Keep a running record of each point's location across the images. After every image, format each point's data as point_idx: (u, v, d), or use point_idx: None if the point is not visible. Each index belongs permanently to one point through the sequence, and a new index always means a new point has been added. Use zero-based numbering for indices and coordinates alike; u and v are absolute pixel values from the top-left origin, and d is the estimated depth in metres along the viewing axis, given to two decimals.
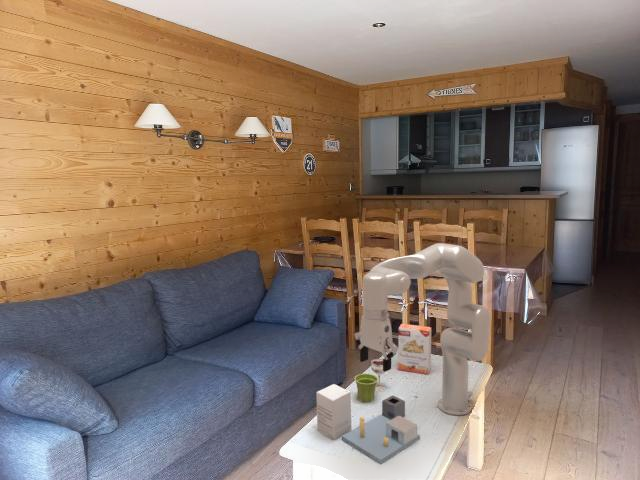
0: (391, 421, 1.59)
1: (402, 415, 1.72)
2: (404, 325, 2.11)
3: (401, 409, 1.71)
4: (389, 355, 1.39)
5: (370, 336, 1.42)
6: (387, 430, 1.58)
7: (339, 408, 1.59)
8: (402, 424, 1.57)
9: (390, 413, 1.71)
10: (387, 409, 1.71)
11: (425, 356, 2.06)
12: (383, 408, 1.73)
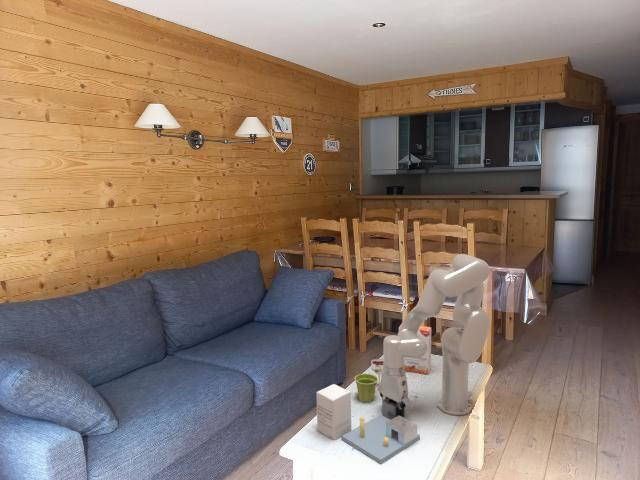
0: (391, 421, 1.59)
1: None
2: None
3: None
4: (402, 406, 1.68)
5: (389, 388, 1.70)
6: (387, 430, 1.58)
7: (339, 408, 1.59)
8: (402, 424, 1.57)
9: (390, 413, 1.71)
10: (387, 409, 1.71)
11: (425, 356, 2.06)
12: (383, 408, 1.73)
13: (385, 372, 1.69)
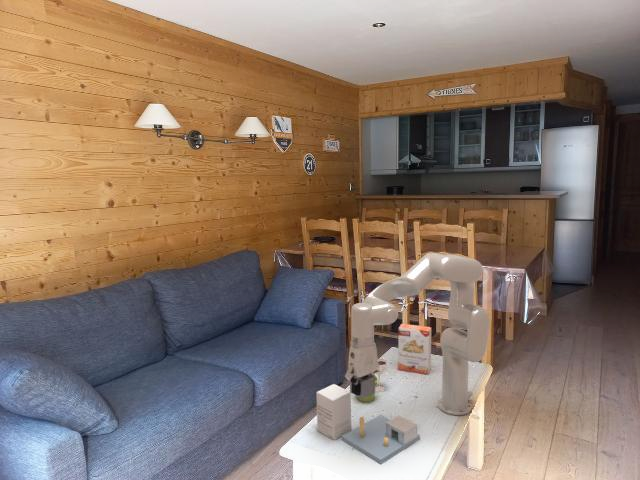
0: (391, 421, 1.59)
1: None
2: (404, 325, 2.11)
3: None
4: None
5: None
6: (387, 430, 1.58)
7: (339, 408, 1.59)
8: (402, 424, 1.57)
9: None
10: None
11: (425, 356, 2.06)
12: None
13: None
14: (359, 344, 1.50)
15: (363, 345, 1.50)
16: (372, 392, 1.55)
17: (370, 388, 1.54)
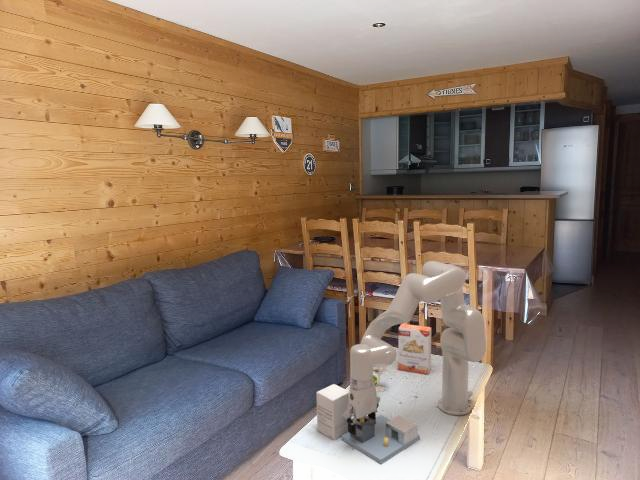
0: (391, 421, 1.59)
1: (359, 439, 1.55)
2: (404, 325, 2.11)
3: (358, 431, 1.55)
4: None
5: None
6: (387, 430, 1.58)
7: (339, 408, 1.59)
8: (402, 424, 1.57)
9: None
10: None
11: (425, 356, 2.06)
12: None
13: None
14: (358, 386, 1.52)
15: (362, 387, 1.52)
16: (372, 436, 1.57)
17: (370, 432, 1.56)
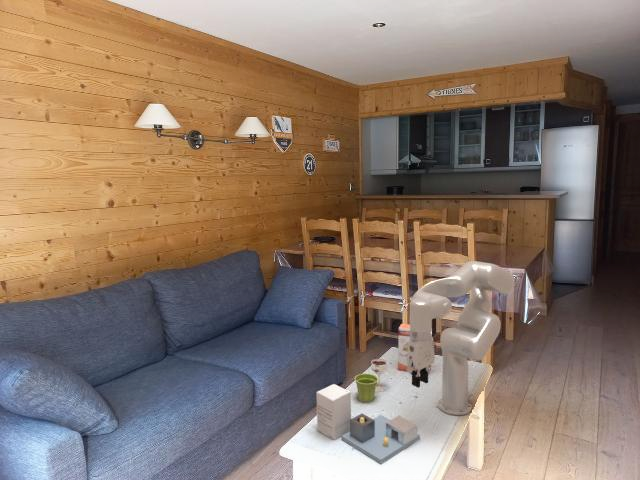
0: (391, 421, 1.59)
1: (359, 439, 1.55)
2: (404, 325, 2.11)
3: (358, 431, 1.55)
4: None
5: None
6: (387, 430, 1.58)
7: (339, 408, 1.59)
8: (402, 424, 1.57)
9: None
10: None
11: None
12: None
13: None
14: (418, 338, 1.56)
15: (422, 339, 1.55)
16: (372, 436, 1.57)
17: (370, 432, 1.56)
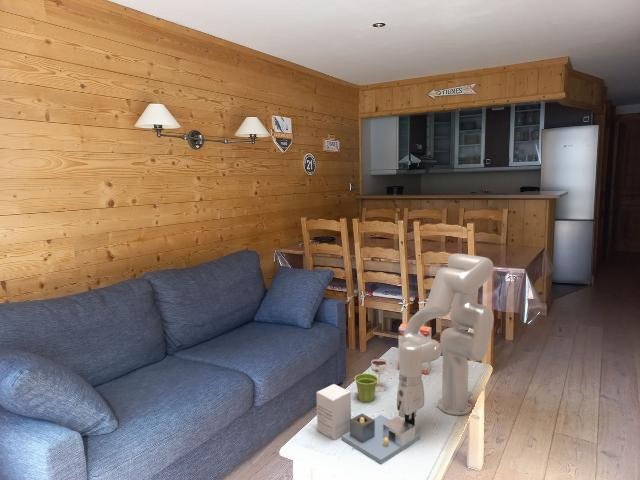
0: (388, 423, 1.58)
1: (359, 439, 1.55)
2: (404, 325, 2.11)
3: (358, 431, 1.55)
4: None
5: None
6: (384, 432, 1.57)
7: (339, 408, 1.59)
8: (399, 426, 1.56)
9: None
10: None
11: None
12: None
13: None
14: (408, 383, 1.54)
15: (412, 384, 1.54)
16: (372, 436, 1.57)
17: (370, 432, 1.56)
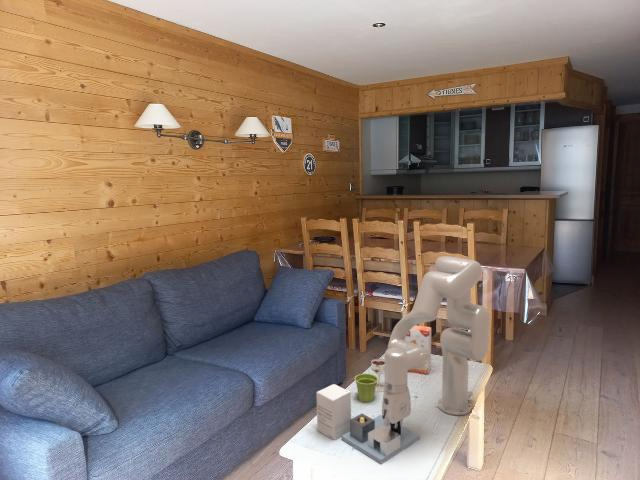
0: (373, 431, 1.53)
1: (359, 439, 1.55)
2: None
3: (358, 431, 1.55)
4: None
5: None
6: (369, 440, 1.52)
7: (339, 408, 1.59)
8: (385, 434, 1.51)
9: None
10: None
11: None
12: None
13: None
14: (393, 390, 1.50)
15: (397, 391, 1.49)
16: None
17: None
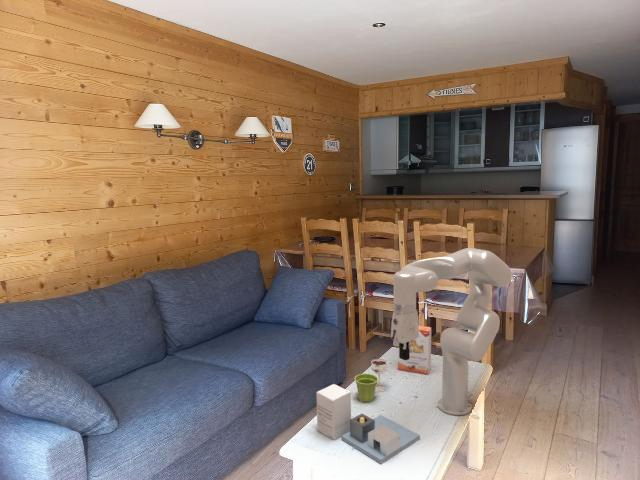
0: (373, 431, 1.53)
1: (359, 439, 1.55)
2: None
3: (358, 431, 1.55)
4: None
5: None
6: (369, 440, 1.52)
7: (339, 408, 1.59)
8: (385, 434, 1.51)
9: None
10: None
11: (425, 356, 2.06)
12: None
13: None
14: (402, 311, 1.53)
15: (406, 311, 1.53)
16: None
17: None
